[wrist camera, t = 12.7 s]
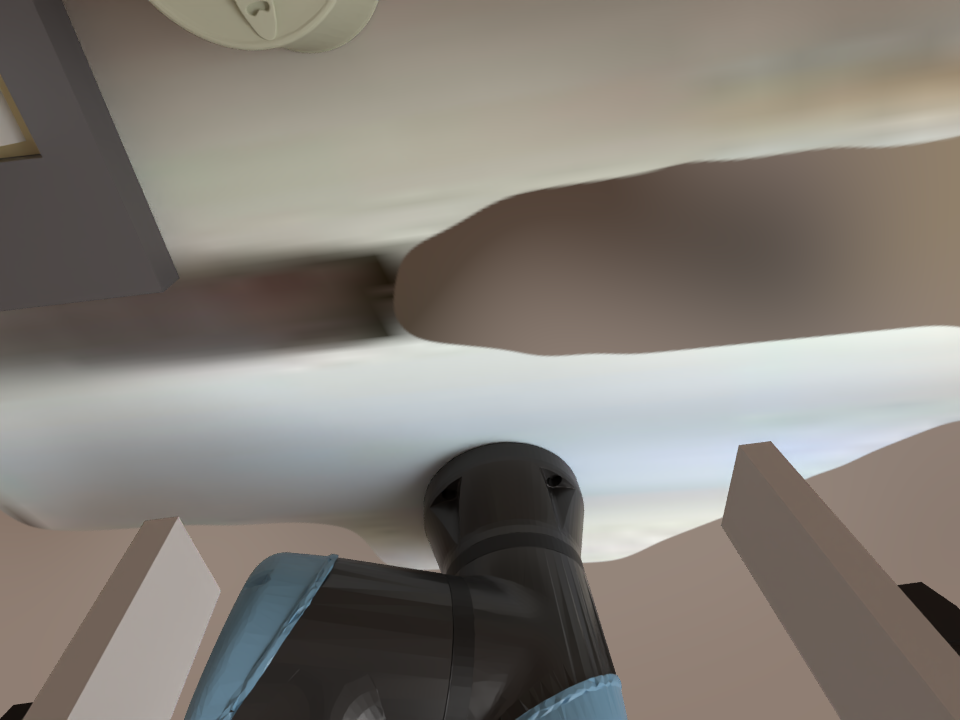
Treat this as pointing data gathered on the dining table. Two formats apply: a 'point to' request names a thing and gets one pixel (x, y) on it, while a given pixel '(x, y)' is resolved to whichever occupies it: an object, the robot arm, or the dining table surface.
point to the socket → (67, 176)
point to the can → (271, 22)
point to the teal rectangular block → (8, 125)
